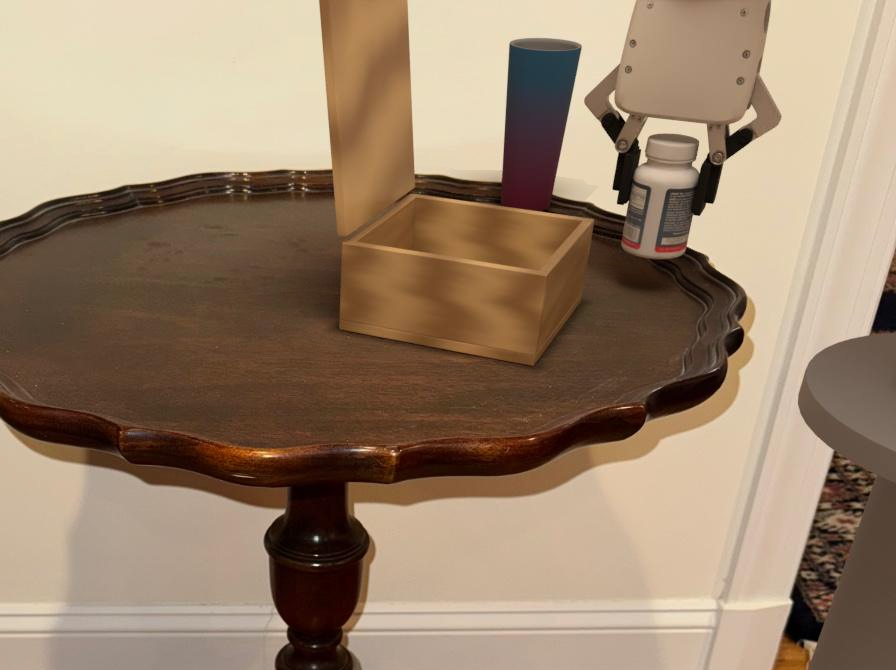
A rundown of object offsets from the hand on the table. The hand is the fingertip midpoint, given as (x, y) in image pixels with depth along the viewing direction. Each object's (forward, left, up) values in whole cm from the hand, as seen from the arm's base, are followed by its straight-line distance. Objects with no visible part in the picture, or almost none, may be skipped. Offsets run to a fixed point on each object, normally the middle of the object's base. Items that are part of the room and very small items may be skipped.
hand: (661, 203), depth 92 cm
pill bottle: (0, 0, -4) cm, 4 cm away
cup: (+16, -19, -7) cm, 26 cm away
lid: (+20, +13, +8) cm, 26 cm away
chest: (+12, +13, -7) cm, 19 cm away
